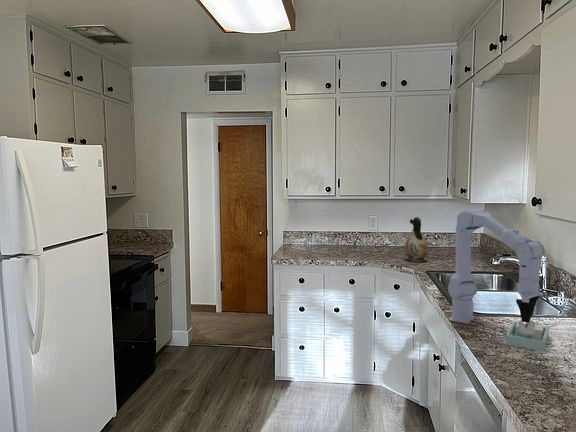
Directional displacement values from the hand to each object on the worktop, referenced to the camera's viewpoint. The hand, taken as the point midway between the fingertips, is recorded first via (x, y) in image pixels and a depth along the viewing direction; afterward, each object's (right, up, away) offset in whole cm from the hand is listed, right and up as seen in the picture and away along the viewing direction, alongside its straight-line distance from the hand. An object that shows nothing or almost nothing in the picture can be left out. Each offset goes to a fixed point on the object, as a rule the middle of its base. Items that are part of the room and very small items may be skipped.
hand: (527, 318), depth 138 cm
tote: (+2, -9, +4) cm, 10 cm away
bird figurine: (+8, +3, +144) cm, 144 cm away
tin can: (0, -8, +1) cm, 8 cm away
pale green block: (+4, -8, +7) cm, 11 cm away
